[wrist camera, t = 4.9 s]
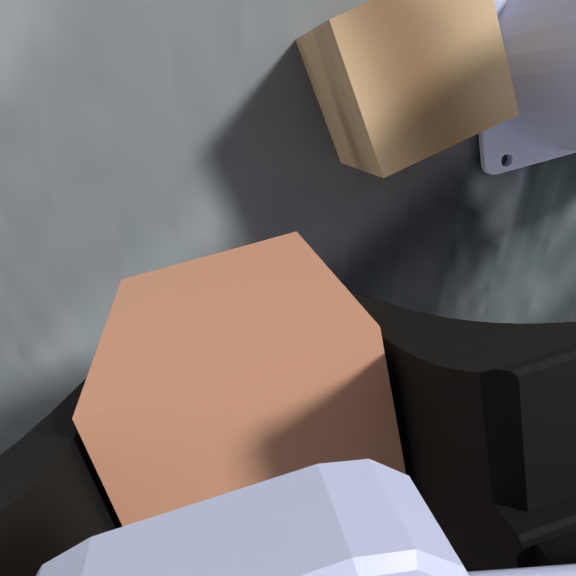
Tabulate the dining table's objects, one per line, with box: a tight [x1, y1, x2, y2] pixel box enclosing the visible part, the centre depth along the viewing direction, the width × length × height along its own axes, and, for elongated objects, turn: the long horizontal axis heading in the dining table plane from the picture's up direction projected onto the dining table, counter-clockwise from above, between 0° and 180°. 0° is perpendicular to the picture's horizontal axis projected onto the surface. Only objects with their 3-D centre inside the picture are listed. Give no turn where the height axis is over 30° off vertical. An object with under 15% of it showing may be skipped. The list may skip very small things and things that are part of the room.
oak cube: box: [295, 0, 519, 178], centre depth 18 cm, size 5×5×5 cm
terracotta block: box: [72, 231, 406, 526], centre depth 11 cm, size 4×4×6 cm
